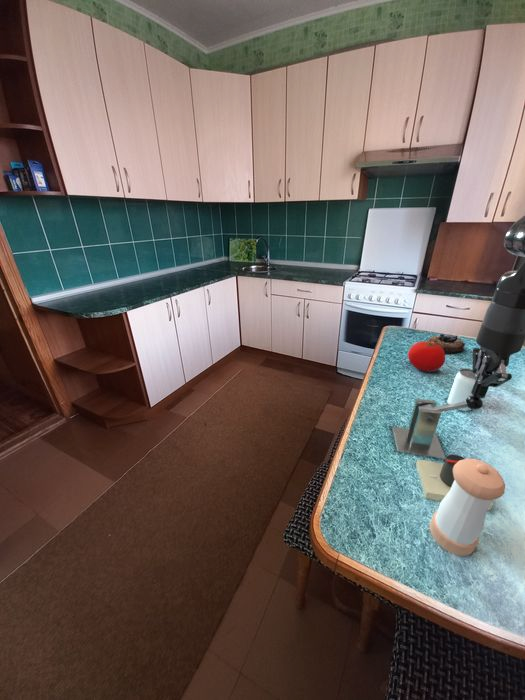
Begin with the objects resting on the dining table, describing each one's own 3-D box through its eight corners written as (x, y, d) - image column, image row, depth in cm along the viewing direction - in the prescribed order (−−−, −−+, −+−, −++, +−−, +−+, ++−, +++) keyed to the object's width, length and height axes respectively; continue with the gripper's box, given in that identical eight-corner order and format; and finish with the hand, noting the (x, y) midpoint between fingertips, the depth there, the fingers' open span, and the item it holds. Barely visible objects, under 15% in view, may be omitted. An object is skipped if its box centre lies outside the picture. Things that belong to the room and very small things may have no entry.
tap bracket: (434, 436, 78) (447, 397, 72) (444, 462, 71) (460, 421, 65) (391, 430, 81) (400, 392, 75) (396, 454, 73) (407, 414, 67)
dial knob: (460, 472, 64) (468, 455, 62) (469, 491, 60) (477, 473, 58) (436, 468, 65) (443, 451, 63) (443, 486, 61) (450, 469, 59)
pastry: (467, 352, 121) (471, 339, 118) (442, 355, 119) (446, 342, 116) (447, 341, 131) (450, 329, 128) (423, 344, 128) (427, 332, 126)
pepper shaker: (482, 557, 52) (525, 484, 43) (443, 561, 51) (478, 488, 43) (455, 517, 58) (487, 447, 49) (420, 521, 58) (446, 450, 49)
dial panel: (471, 477, 66) (475, 467, 65) (488, 514, 59) (493, 504, 57) (414, 467, 69) (417, 458, 68) (423, 501, 61) (427, 491, 60)
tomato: (440, 379, 103) (448, 353, 98) (403, 370, 109) (409, 345, 104) (442, 365, 112) (449, 340, 107) (407, 357, 117) (413, 334, 113)
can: (445, 398, 93) (456, 366, 88) (469, 403, 91) (482, 370, 85) (447, 409, 88) (458, 376, 83) (472, 415, 85) (486, 381, 80)
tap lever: (480, 402, 68) (478, 391, 67) (486, 411, 65) (483, 399, 64) (420, 413, 73) (417, 403, 72) (423, 422, 70) (420, 411, 69)
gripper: (547, 340, 51) (510, 417, 59) (510, 315, 63) (483, 382, 71) (499, 337, 53) (469, 411, 61) (471, 313, 64) (449, 378, 72)
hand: (477, 395), depth 66 cm, fingers closed
